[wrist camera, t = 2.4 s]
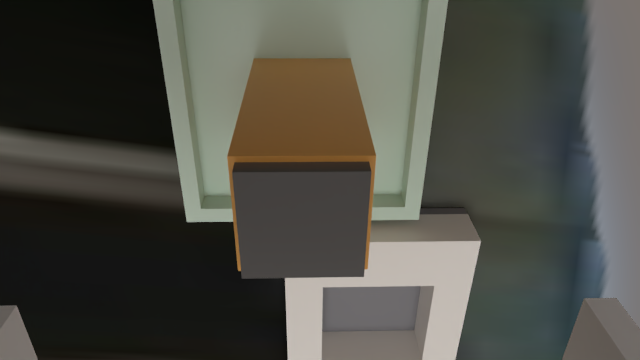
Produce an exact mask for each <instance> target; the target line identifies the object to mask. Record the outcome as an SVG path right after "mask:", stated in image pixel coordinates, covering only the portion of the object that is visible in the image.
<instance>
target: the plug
mask: <svg viewBox="0 0 640 360" xmlns="http://www.w3.org/2000/svg"><path fill="white" fill-rule="evenodd" d="M227 160H228V171H229V181H230V191H231V202H232V212H233V222H234V233H235V243H236V254H237V264H238V271H241V274H242V278H320V277H364V269H368V258H369V245H370V232H371V218H372V205H373V192H374V178H375V165H376V153H375V149H374V145H373V141H372V138H371V134H370V130H369V126H368V123H367V119H366V115H365V111H364V107H363V104H362V100H361V96H360V92H359V89H358V85H357V81H356V77H355V73H354V70H353V66H352V62H351V58H254V59H253V63H252V67H251V70H250V74H249V78H248V81H247V85H246V89H245V92H244V96H243V100H242V103H241V107H240V111H239V114H238V118H237V122H236V126H235V129H234V133H233V137H232V140H231V144H230V148H229V151H228V155H227Z"/></svg>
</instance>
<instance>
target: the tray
mask: <svg viewBox="0 0 640 360" xmlns="http://www.w3.org/2000/svg"><path fill="white" fill-rule="evenodd" d="M447 5H448V0H153V6H154V12H155V19H156V25H157V32H158V38H159V45H160V51H161V58H162V64H163V71H164V77H165V83H166V90H167V96H168V103H169V109H170V116H171V122H172V129H173V135H174V142H175V148H176V155H177V161H178V168H179V174H180V181H181V187H182V194H183V200H184V206H185V213H186V219H187V222H233V212H232V202H231V191H230V181H229V171H228V160H227V155H228V151H229V148H230V144H231V140H232V137H233V133H234V129H235V126H236V122H237V118H238V114H239V111H240V107H241V103H242V100H243V96H244V92H245V89H246V85H247V81H248V78H249V74H250V70H251V67H252V63H253V59H254V58H351V62H352V66H353V70H354V73H355V77H356V81H357V85H358V89H359V92H360V96H361V100H362V104H363V107H364V111H365V115H366V119H367V123H368V126H369V130H370V134H371V138H372V141H373V145H374V149H375V153H376V165H375V178H374V192H373V205H372V218H371V220H419V214H420V207H421V199H422V192H423V184H424V177H425V169H426V162H427V154H428V147H429V139H430V132H431V125H432V117H433V110H434V102H435V95H436V87H437V80H438V72H439V65H440V57H441V50H442V43H443V35H444V28H445V20H446V13H447Z"/></svg>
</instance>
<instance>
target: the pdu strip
mask: <svg viewBox="0 0 640 360" xmlns="http://www.w3.org/2000/svg"><path fill="white" fill-rule="evenodd" d="M480 243H481V240H480V238H479V236H478V234H477V232H476V230H475V228H474V226H473V224H472V222H471V220H470V218H469V216H468V214H467V212H466V209H465V208H420V214H419V220H371V232H370V245H369V258H368V269H364V277H320V278H285V292H286V321H287V350H288V360H455V358H456V354H457V349H458V345H459V340H460V335H461V331H462V326H463V322H464V317H465V312H466V308H467V303H468V299H469V294H470V289H471V285H472V280H473V275H474V271H475V266H476V262H477V257H478V252H479V248H480Z"/></svg>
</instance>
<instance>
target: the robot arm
mask: <svg viewBox="0 0 640 360" xmlns="http://www.w3.org/2000/svg"><path fill="white" fill-rule="evenodd" d="M0 360H38V359H37V356H36V354H35V351H34V349H33V346H32V344H31V341H30V339H29V336H28V334H27V331H26V329H25V326H24V324H23V321H22V319H21V316H20V313H19V311H18V308H17V306H0ZM562 360H640V329H639V327H638V326H637V325H636V323H635V322H634V321H633V319H632V318H631V317H630V315H629V314H628V313H627V311H626V310H625V309H624V308H623V306H622V305H621V304H620V302H619V301H618V300H617V298H584V300H583V303H582V306H581V309H580V311H579V314H578V317H577V320H576V323H575V325H574V328H573V331H572V334H571V336H570V339H569V342H568V345H567V347H566V350H565V353H564V356H563V358H562Z"/></svg>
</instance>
